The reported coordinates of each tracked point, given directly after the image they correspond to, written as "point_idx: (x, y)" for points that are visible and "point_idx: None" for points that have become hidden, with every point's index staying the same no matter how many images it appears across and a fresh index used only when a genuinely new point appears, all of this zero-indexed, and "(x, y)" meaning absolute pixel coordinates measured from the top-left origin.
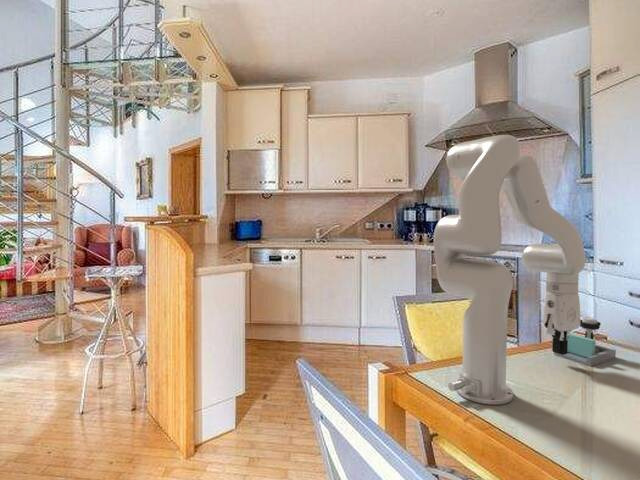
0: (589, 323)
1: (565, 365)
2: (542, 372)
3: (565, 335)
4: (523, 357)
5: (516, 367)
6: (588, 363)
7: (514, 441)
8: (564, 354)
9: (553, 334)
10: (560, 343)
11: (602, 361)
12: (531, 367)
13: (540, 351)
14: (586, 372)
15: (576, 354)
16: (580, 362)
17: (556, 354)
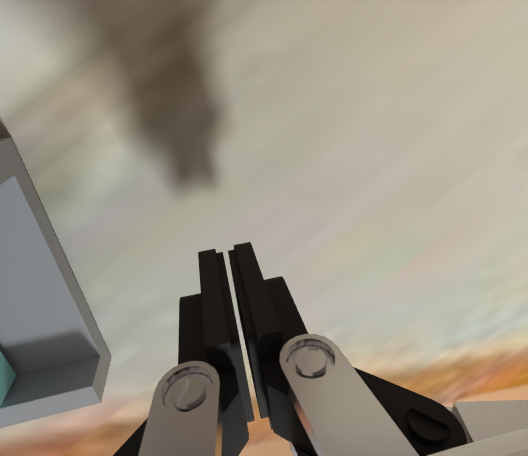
0: None
1: (198, 211)
2: (429, 174)
3: (219, 421)
4: None
5: (465, 263)
6: (9, 158)
7: None
8: (68, 331)
9: (499, 411)
10: (289, 325)
11: None
12: (408, 244)
13: (150, 402)
14: (165, 56)
15: None
16: (41, 213)
17: (105, 351)
